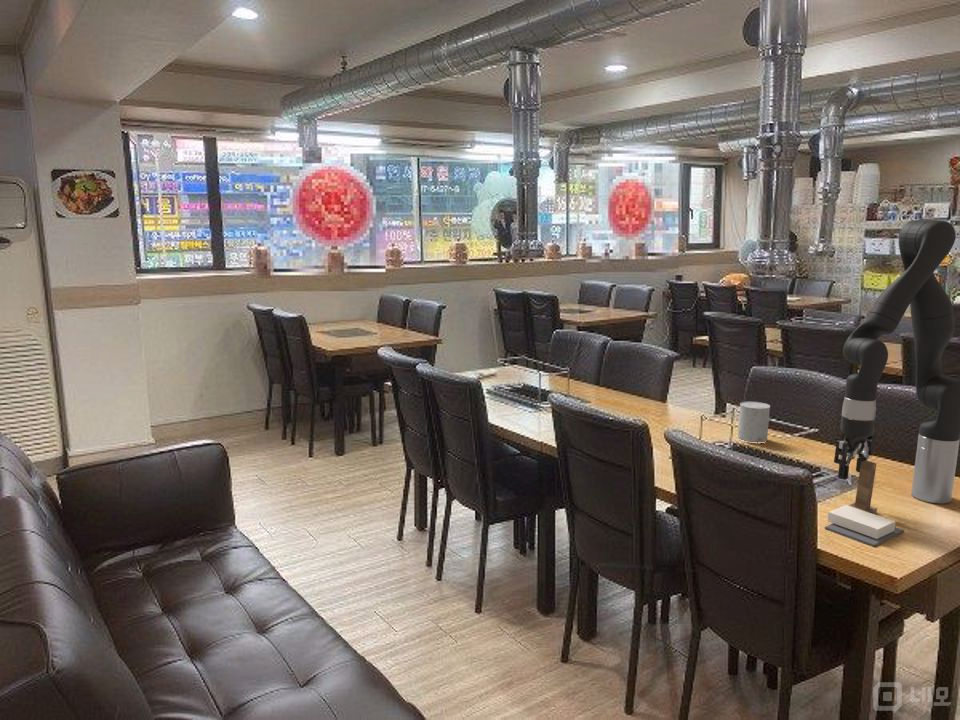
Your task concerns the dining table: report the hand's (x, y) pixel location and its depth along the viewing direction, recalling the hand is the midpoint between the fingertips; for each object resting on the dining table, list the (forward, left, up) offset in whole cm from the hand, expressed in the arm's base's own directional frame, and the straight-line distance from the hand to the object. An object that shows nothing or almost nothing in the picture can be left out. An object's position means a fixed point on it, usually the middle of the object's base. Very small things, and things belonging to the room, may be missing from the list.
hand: (851, 475), depth 185 cm
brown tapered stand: (0, +3, -8) cm, 9 cm away
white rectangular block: (+11, +3, -7) cm, 13 cm away
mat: (+11, +10, -9) cm, 17 cm away
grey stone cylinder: (-30, -50, -9) cm, 59 cm away
